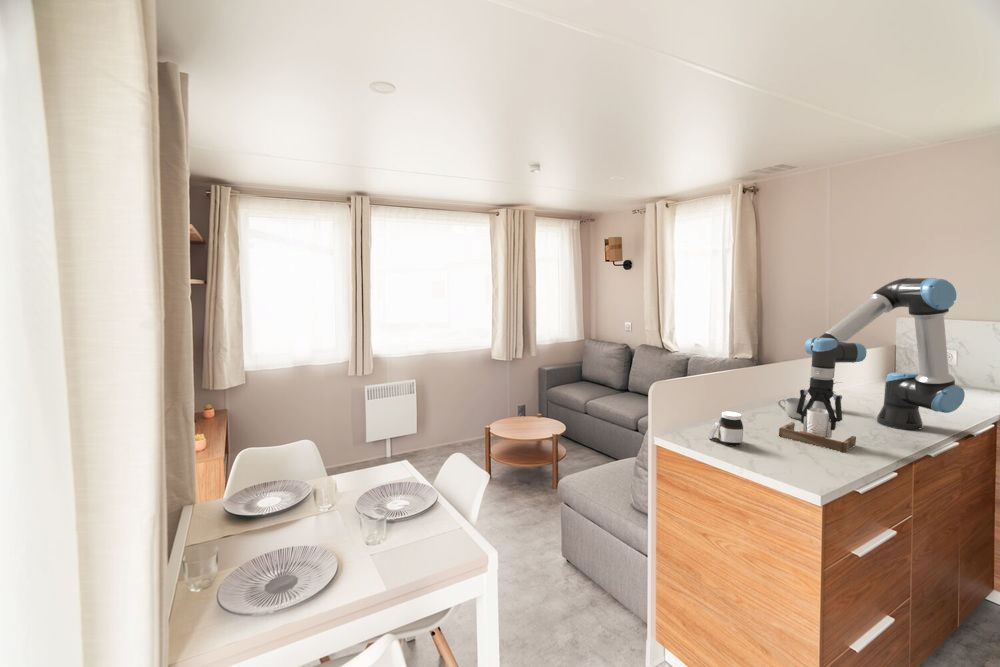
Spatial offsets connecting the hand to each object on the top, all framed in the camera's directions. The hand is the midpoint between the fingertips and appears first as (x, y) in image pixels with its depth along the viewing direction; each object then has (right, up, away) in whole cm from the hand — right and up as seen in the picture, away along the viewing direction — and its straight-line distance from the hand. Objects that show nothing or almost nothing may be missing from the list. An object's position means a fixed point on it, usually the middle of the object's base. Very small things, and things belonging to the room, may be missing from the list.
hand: (816, 434), depth 185 cm
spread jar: (-37, -3, -1) cm, 37 cm away
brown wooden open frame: (0, -2, 0) cm, 2 cm away
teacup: (+11, +1, +32) cm, 33 cm away
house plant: (+32, +3, +43) cm, 54 cm away
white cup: (0, 0, 0) cm, 0 cm away
